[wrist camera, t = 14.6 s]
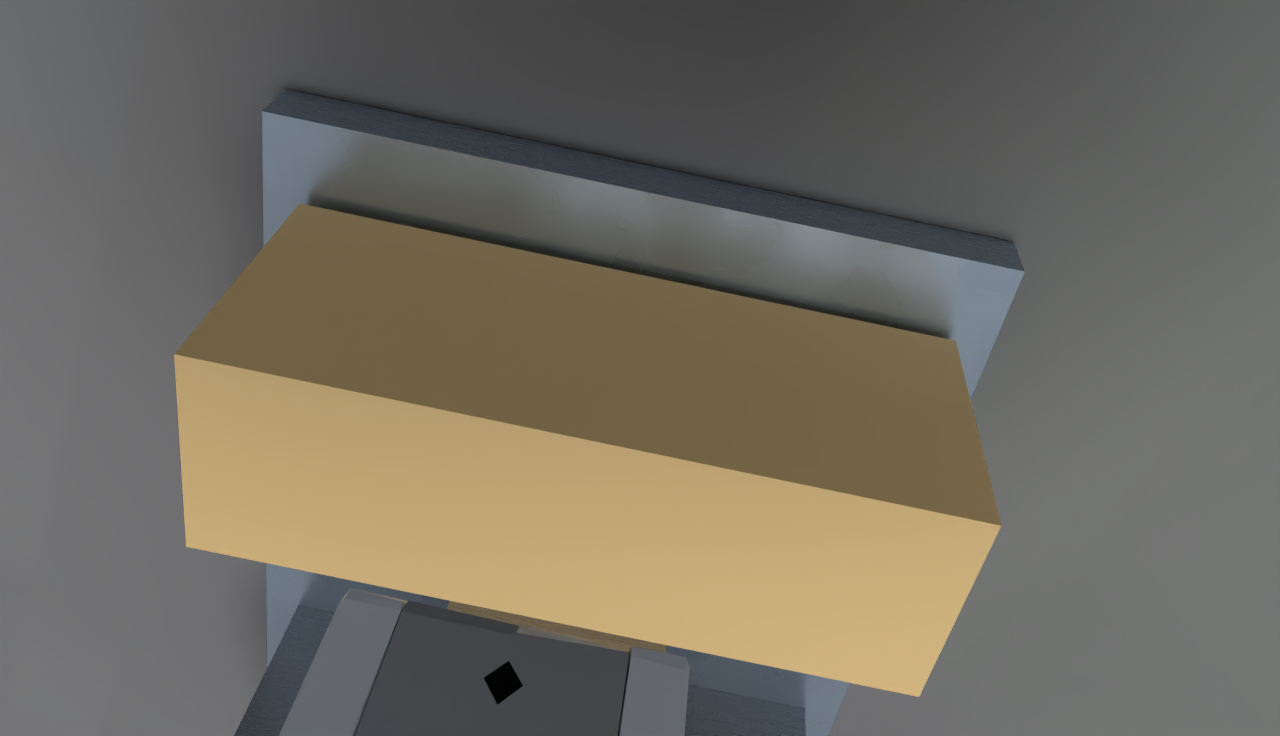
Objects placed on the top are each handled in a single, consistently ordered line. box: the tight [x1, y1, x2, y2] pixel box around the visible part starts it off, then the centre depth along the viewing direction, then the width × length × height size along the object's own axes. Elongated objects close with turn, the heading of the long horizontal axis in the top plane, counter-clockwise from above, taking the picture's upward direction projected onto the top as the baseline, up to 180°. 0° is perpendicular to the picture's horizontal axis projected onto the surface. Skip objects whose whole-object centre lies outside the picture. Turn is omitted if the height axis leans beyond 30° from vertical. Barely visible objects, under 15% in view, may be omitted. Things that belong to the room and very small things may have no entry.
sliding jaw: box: [174, 203, 1001, 697], centre depth 26 cm, size 5×16×7 cm, turn 80°
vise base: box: [234, 89, 1025, 736], centre depth 31 cm, size 25×18×8 cm
